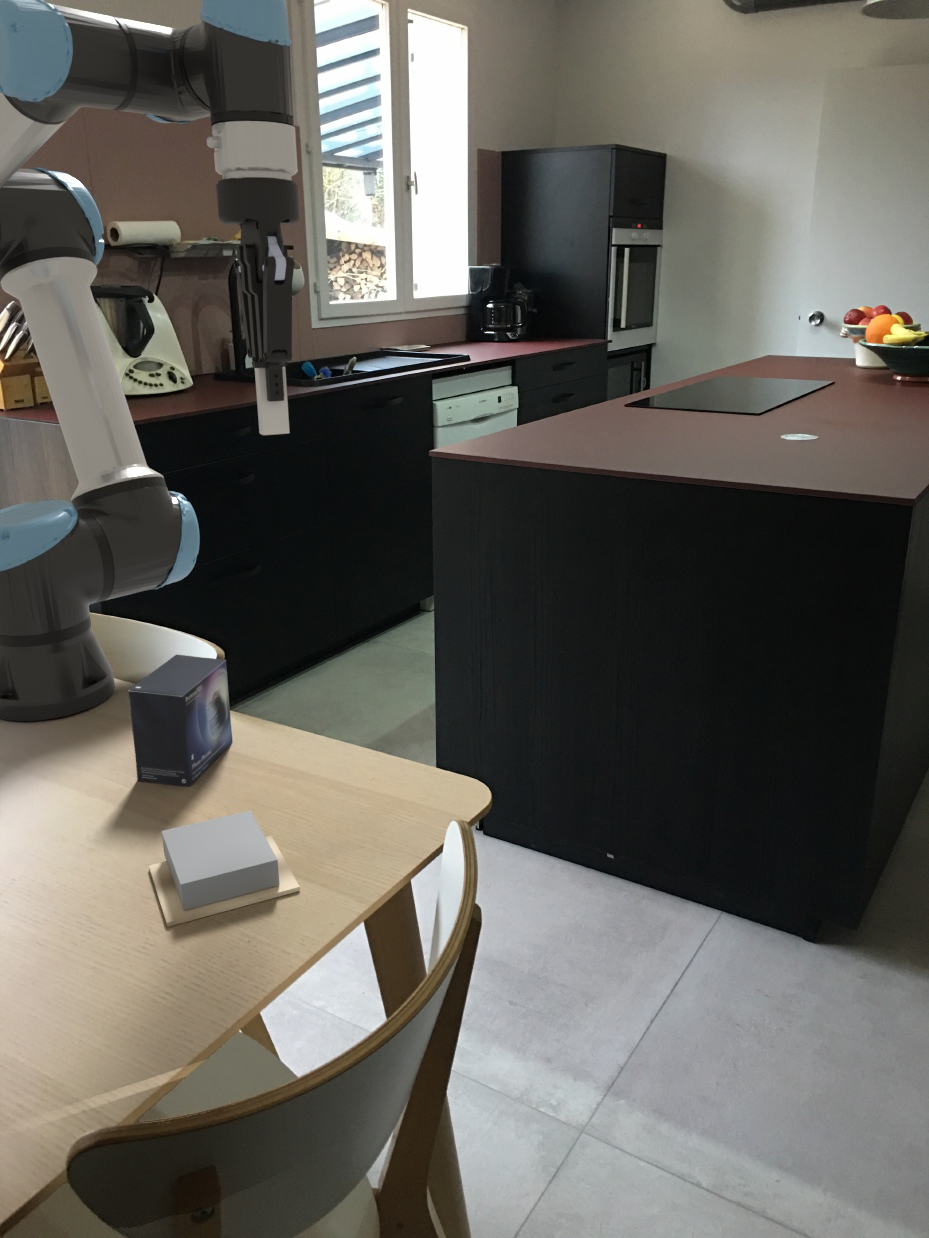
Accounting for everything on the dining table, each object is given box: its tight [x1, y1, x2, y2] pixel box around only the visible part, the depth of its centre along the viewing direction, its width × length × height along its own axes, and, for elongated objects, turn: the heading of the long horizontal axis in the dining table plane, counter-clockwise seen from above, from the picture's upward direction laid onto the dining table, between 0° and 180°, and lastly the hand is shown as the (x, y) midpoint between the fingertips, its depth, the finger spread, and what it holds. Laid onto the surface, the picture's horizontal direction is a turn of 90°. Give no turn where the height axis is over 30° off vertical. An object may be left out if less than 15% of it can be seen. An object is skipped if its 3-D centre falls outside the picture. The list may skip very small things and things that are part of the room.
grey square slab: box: [161, 810, 280, 910], centre depth 85 cm, size 3×8×9 cm
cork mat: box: [148, 835, 301, 928], centre depth 84 cm, size 9×11×1 cm
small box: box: [127, 654, 234, 788], centre depth 103 cm, size 11×6×10 cm, turn 168°
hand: (274, 433), depth 98 cm, fingers closed
